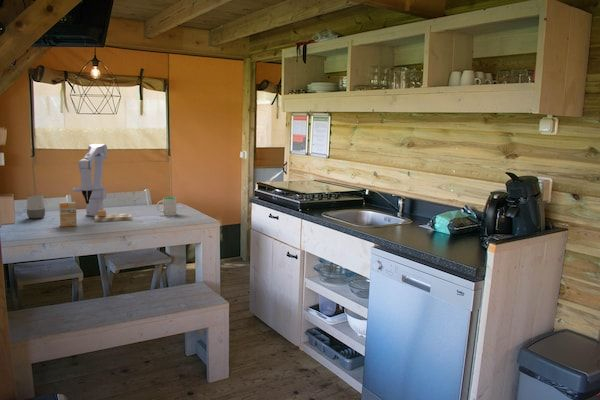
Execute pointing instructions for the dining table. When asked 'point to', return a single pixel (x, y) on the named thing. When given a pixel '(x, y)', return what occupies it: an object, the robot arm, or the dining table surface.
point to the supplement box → (68, 214)
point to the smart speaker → (35, 207)
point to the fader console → (113, 217)
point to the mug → (168, 206)
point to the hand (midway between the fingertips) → (87, 203)
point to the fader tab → (101, 212)
